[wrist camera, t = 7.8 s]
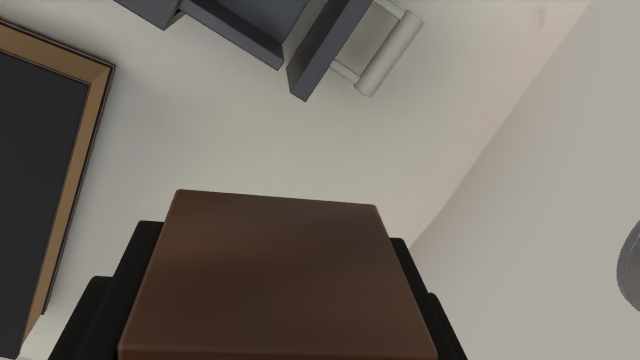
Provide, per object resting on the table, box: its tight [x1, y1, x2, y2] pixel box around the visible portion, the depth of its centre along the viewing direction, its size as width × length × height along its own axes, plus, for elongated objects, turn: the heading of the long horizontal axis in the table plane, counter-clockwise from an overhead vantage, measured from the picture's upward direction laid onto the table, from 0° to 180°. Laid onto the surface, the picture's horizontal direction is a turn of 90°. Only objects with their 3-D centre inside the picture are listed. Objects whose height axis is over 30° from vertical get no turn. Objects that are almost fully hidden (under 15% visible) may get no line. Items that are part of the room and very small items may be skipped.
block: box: [117, 189, 438, 360], centre depth 9 cm, size 4×4×4 cm
